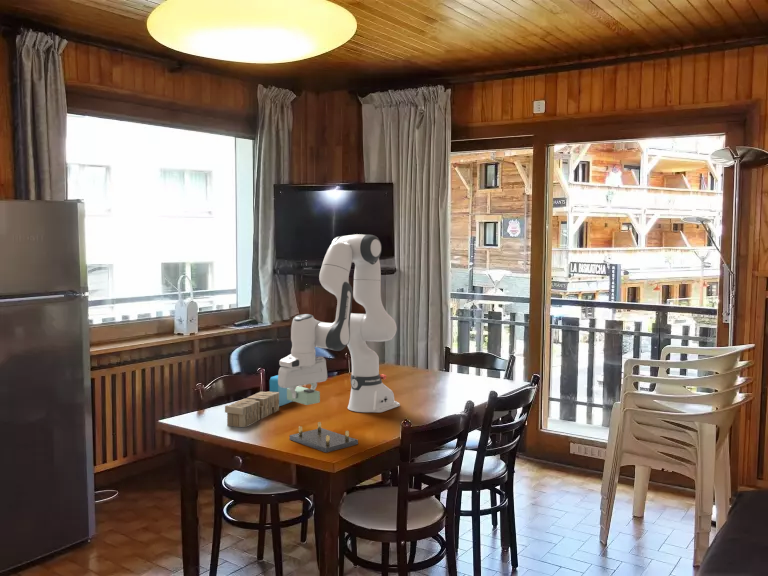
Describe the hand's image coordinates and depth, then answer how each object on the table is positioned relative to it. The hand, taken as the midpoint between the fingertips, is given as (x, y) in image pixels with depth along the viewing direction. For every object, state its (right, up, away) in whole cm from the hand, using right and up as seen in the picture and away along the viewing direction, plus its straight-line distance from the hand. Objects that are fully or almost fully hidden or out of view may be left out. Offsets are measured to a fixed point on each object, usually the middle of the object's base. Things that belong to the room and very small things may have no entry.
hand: (303, 396), depth 261 cm
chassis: (+9, -13, -16) cm, 22 cm away
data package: (-13, -9, +39) cm, 42 cm away
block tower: (-21, -11, +16) cm, 29 cm away
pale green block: (0, -2, 0) cm, 2 cm away
